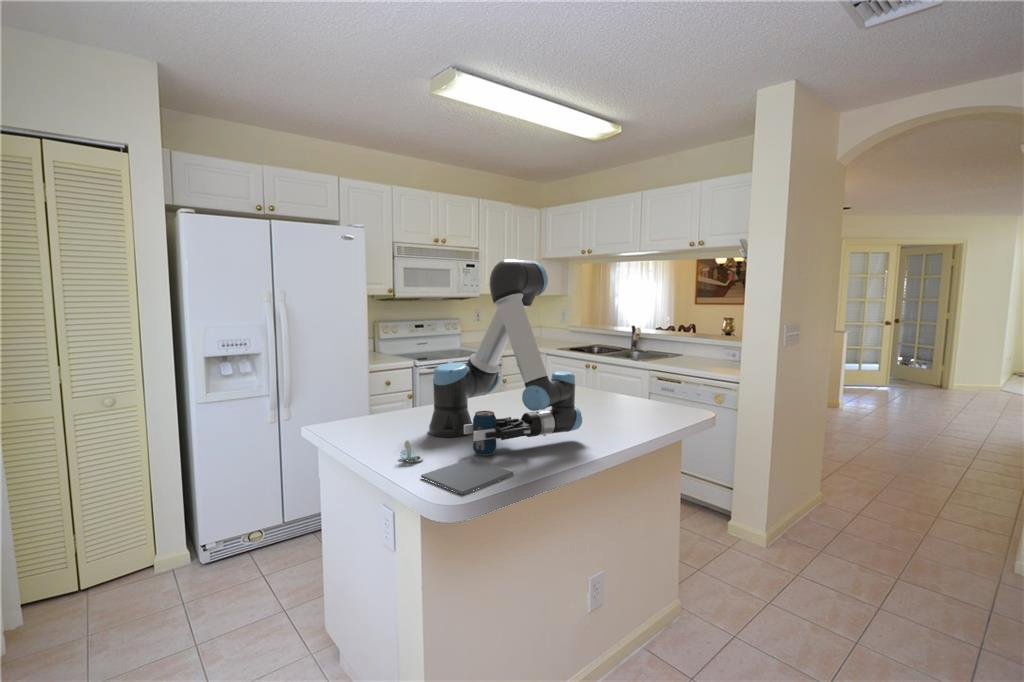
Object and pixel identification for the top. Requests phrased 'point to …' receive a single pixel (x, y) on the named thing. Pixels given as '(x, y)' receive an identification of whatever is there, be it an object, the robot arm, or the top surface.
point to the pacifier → (410, 453)
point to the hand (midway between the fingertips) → (469, 432)
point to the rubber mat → (467, 475)
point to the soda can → (484, 422)
